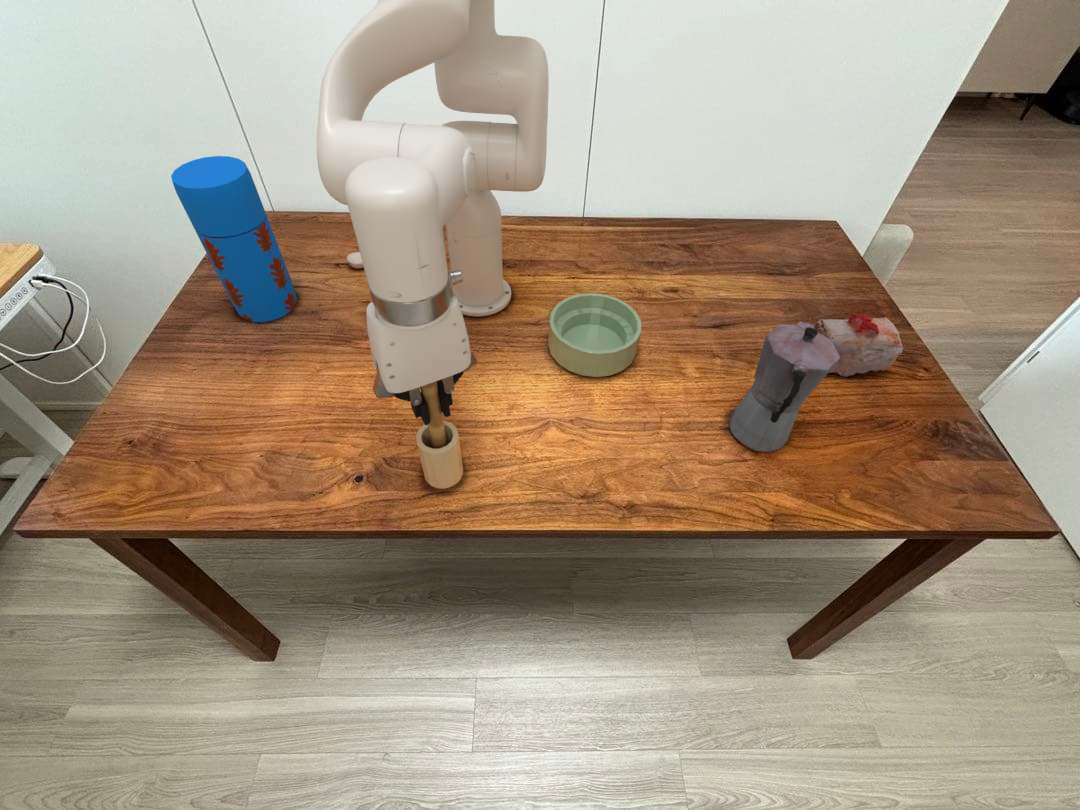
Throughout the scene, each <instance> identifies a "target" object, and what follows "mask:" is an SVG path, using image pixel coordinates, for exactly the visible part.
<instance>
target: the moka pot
mask: <svg viewBox="0 0 1080 810" xmlns="http://www.w3.org/2000/svg"><path fill="white" fill-rule="evenodd" d="M814 326H815V325H813V324H811V323H808V322H804V321H801V320H800V321H798V322H797V324H779V325H777V326H776V327H775V328H774V329H773V330H771V331H770V332H769V333H768V334H767V335H766V336H765V338H764V342H763V345H762V347H761V348H762V349H761V351H760V355H759V359H758V363H757V364H756V368H755V371H754V375H753V378H754V381H753V384H752V386H751V387H750V388H749V390H748V391H747V392H746V393H745V395H744V397H743V398H742V399H741V400H740V402H739V403H738V404H737V406H736V408H735V409H734V410H733V411H732V413H731V414H730V416H729V417H730V418H729V421H728V422H729V424H728V427H729V429H730V432H731V434H732V435H733V436H734V437H735V439H736V440H738V441H739V442H740V443H741V444H742V445H744V446H746V447H747V448H749V449H751V450H753V451H755V452H763V453H769V452H776V451H778V450H780V449H781V448H783V447H784V446H786V444H787V442H788V440H789V437H790V435H791V432H792V430H793V427H794V425H795V422H796V419H797V417H798V414H799V411H800V409H801V406H802V405H803V403H804V402H805V401H806V400H807V398H808V397H809V396H810V395H812V393H813V392H814V391H815V390H816V388H817V387H818V386H819V385H820V383H821V382H822V381H823V380H824V379H825V377H826V376H827V375H828V374H830V373H829V371H830V370H831V369H832V368H833V367H834V365H835V364H836V363H837V362H838V361H839V359H840V356H839V354H838V352H837V350H836V349H835V347H834V345H833V343H832V341H831V340H830V339H829V338H827V337H826V336H824V335H822V334H820V333H818V331H817V330H816V329H815V328H814Z"/></svg>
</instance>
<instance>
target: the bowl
mask: <svg viewBox="0 0 1080 810" xmlns="http://www.w3.org/2000/svg"><path fill="white" fill-rule="evenodd" d="M641 335H642V320H641V318H640V315H639V314H638V312H637V311H636V310H635V309H634V308H633V307H632V306H631V305H630V304H629V303H627V302H625V301H623V300H622V299H620V298H618V297H614V296H611V295H608V294H604V293H595V292H589V293H587V292H585V293H578V294H574V295H571V296H568V297H566V298H564V299H562V300H561V301H559V302H558V303H557V304H556V305H555V306H554V308H553V309H552V310H551V312H550V317H549V321H548V339H547V346H548V350H549V353H550V355H551V357H552V358H553V359H554V361H555V362H556V363H557V364H558V365H560V366H561V367H562V368H564V369H565V370H567V371H569V372H572V373H574V374H576V375H580V376H584V377H592V378H600V377H601V378H602V377H609V376H613V375H616V374H618V373H621V372H623V371H624V370H626V369H627V368H628V367H629V366H631V364H632V363H633V362H634V360H635V358H636V356H637V352H638V348H639V343H640V339H641Z"/></svg>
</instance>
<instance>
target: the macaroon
mask: <svg viewBox="0 0 1080 810" xmlns="http://www.w3.org/2000/svg"><path fill="white" fill-rule="evenodd" d="M346 261H347V264H348V265H349V266H350V267H351V268H353V269H356V270H357V269H362V268H363V269H364V266H363V262H362V258H361V255H360V251H355V252H351V253H349V254H348V255H347V256H346Z"/></svg>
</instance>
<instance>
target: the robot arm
mask: <svg viewBox="0 0 1080 810" xmlns="http://www.w3.org/2000/svg"><path fill="white" fill-rule="evenodd" d="M495 12H496V11H495V0H377V3H376V4H375V6H373V7H372V9H370V10H369V11H368V12H367V13H366V14H365V15H364V16H363V17H362V18H361V19H360V20H359V21H358V22H357V23H356V24H355V25H354V26H353V28H351V30H350V31H349V32H348V33H347V35H346V36H345V38H343V40H342V42H341V43H340V44H339V46H337V48H336V50H335V51H334V53H333V55H332V56H331V58H330V60H329V62H328V64H327V65H326V68H325V71H324V74H323V77H322V79H321V85H320V90H319V103H318V113H317V114H318V117H317V119H318V120H317V128H316V129H317V130H316V160H317V161H316V162H317V168H318V169H317V170H318V173H319V177H320V180H321V183H322V185H323V187H324V189H325V191H326V192H327V193H328V194H329V196H330V197H331V198H332V199H333V200H335V201H336V202H338V203H340V204H343V205H345V206H347V208H348V212H349V216H350V219H351V224H352V228H353V231H354V235H355V239H356V243H357V247H358V252H360V255H361V258H362V262H363V266H364V267H363V270H364V274H365V277H366V282H367V286H368V289H369V293H370V296H371V302H369V303H368V304H367V306H366V316H365V317H366V319H365V320H366V329H367V331H366V332H367V337H368V343H369V348H370V352H371V357H372V361H373V365H374V368H375V371H376V374H375V377H374V382H373V386H372V391H373V393H374V395H375V397H376V398H377V399H389V398H390V399H391V398H393V397H395V398H396V399H398V400H402V401H405V402H410V406H411V410H412V412H413V415H414V416H415V418H416V419H418V418H421V420H422V422H423V425H424V424H425V425H428V424H429V423H430V417H429V412H428V407H427V403H426V401H425V399H424V397H423V396H422V394H421V389H420V387H421V386H424V385H427V384H430V383H433V382H435V381H437V385H438V391H439V397H440V403H441V409H442V415H443V417H444V418H449V417H451V416H452V414H451V407H450V406H453V405H454V401H453V395H452V394H453V392H454V391H455V385H456V384H457V382H459V380H460V379H461V378H462V376H464V372H465V373H466V372H467V371H469V370H470V369H472V368H473V367H475V366H477V364H478V362H479V361H478V358H477V357H476V355H475V354H474V353H473V351H472V350H471V344H470V339H469V335H468V331H467V326H466V323H465V319H464V316H468V317H486V316H487V317H488V316H491V315H494V314H497V313H499V312H500V311H502V310H504V309H505V308H506V307H507V306H508V305H509V303H510V301H511V299H512V288H511V286H510V284H509V282H508V281H507V280H505V279H504V272H503V270H504V268H503V266H504V265H503V228H502V211H501V207H500V204H499V202H498V200H497V199H496V197H495V195H494V194H493V192H492V191H495V192H496V191H497V192H498V191H499V192H500V191H501V192H517V193H518V192H519V193H520V192H521V193H525V192H533V191H536V190H537V189H539V188H540V187H541V185H542V184H543V182H544V178H545V174H546V167H547V148H548V147H547V146H548V142H547V141H548V119H549V118H548V116H549V93H550V92H549V88H550V87H549V83H550V82H549V79H550V78H549V77H550V75H549V64H548V57H547V53H546V50H545V48H544V47H543V45H542V44H541V42H539V40H536V39H534V38H533V37H532V38H531V37H528V36H520V35H519V36H518V35H502V34H498V33H497V31H496V23H495V22H496V19H495V16H496V15H495V14H496V13H495ZM431 64H433V65H434V75H435V85H436V90H437V94H438V97H439V100H440V102H441V103H442V105H444V106H445V107H446V108H447V109H450V110H452V111H456V112H460V113H468V114H469V113H470V114H482V115H483V114H484V115H503V116H504V115H505V116H512V117H513V118H514V120H515V122H516V123H509V122H492V121H481V120H454V121H452V120H451V121H449V122H448V121H447V122H446V123H443V124H441V125H437V124H436V125H435V124H418V123H417V124H416V123H407V122H391V121H376V120H374V121H373V120H363V117H364V114H365V112H366V110H367V108H368V106H369V104H370V103H371V102H372V100H373V99H374V98H375V96H376V95H377V94H378V93H379V92H381V91H382V90H383V89H384V88H385V87H387V86H388V85H390V84H392V83H393V82H395V81H396V80H397V81H398V80H400V79H401V78H403V77H406V76H408V75H410V74H413V73H415V72H416V71H420V70H421V69H423V68H426V67H428V66H430V65H431ZM444 227H445V231H446V232H445V233H446V240H447V248H448V258H449V259H448V260H449V269H448V263H447V254H446V245H445V240H444V239H445V238H444V230H443V229H444Z"/></svg>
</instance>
